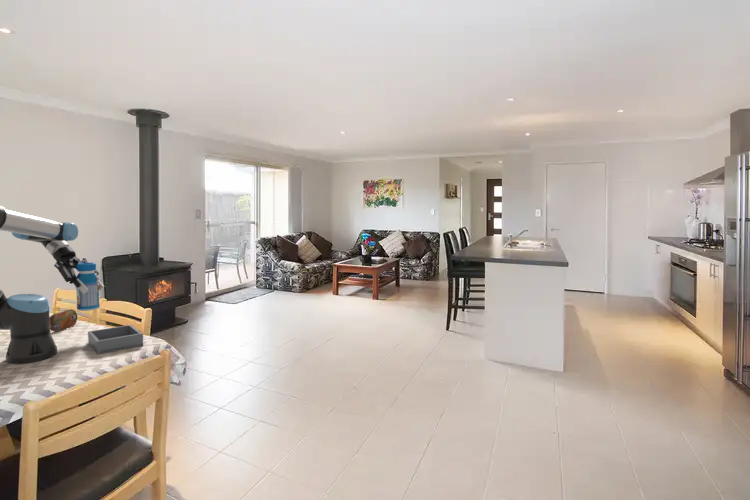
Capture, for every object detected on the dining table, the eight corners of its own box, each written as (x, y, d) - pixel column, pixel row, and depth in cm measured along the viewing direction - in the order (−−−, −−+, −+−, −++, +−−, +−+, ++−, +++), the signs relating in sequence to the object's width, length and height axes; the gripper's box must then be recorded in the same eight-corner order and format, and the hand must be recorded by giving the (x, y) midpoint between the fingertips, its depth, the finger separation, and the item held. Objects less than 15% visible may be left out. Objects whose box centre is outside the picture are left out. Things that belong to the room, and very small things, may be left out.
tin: (54, 333, 189) (53, 315, 188) (47, 333, 189) (46, 315, 188) (78, 324, 204) (77, 307, 203) (72, 324, 204) (71, 307, 203)
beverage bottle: (88, 311, 178) (86, 264, 176) (71, 310, 179) (69, 264, 178) (104, 307, 186) (103, 262, 184) (88, 306, 188) (86, 261, 186)
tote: (143, 345, 174) (142, 333, 173) (97, 354, 163) (97, 341, 162) (131, 335, 187) (130, 324, 186) (88, 343, 176) (87, 331, 175)
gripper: (77, 255, 194) (108, 291, 192) (33, 259, 174) (67, 300, 172) (86, 243, 192) (118, 280, 190) (43, 247, 172) (77, 288, 170)
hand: (94, 290), depth 181 cm, fingers closed on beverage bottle, 7 cm apart
